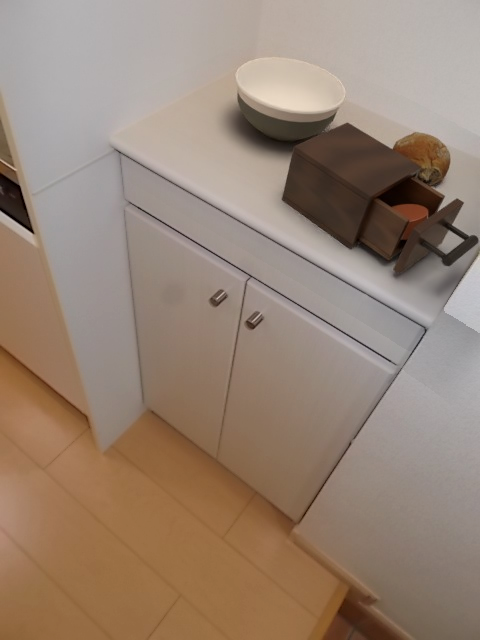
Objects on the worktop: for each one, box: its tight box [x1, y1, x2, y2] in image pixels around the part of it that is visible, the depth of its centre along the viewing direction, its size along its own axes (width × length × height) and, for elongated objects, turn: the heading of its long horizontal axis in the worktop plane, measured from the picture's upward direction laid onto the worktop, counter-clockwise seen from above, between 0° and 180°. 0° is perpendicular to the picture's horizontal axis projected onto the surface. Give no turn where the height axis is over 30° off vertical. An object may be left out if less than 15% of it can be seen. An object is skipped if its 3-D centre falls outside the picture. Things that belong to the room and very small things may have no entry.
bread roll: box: [392, 131, 451, 187], centre depth 87 cm, size 10×10×8 cm
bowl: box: [234, 56, 347, 142], centre depth 90 cm, size 19×19×8 cm
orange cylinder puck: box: [392, 204, 428, 240], centre depth 72 cm, size 6×6×3 cm
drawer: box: [357, 176, 480, 275], centre depth 72 cm, size 17×11×7 cm, turn 44°
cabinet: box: [281, 122, 421, 250], centre depth 76 cm, size 14×12×9 cm
